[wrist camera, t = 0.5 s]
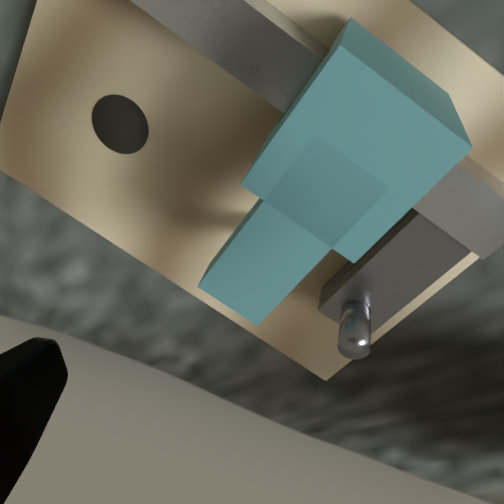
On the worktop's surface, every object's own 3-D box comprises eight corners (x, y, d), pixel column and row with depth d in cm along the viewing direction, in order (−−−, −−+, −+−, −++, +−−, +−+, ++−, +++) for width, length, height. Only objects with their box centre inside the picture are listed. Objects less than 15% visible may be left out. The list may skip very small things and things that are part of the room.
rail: (517, 194, 17) (532, 220, 16) (474, 231, 18) (483, 259, 17) (108, -121, 15) (74, -130, 13) (86, -57, 16) (53, -56, 14)
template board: (594, 149, 17) (603, 158, 16) (327, 369, 25) (325, 381, 24) (122, -234, 14) (109, -242, 13) (-1, 155, 22) (-13, 162, 22)
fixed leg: (468, 226, 18) (485, 283, 15) (364, 316, 22) (361, 377, 19) (419, 190, 18) (427, 241, 15) (321, 287, 21) (311, 345, 18)
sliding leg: (448, 93, 16) (473, 147, 11) (293, 262, 20) (272, 343, 16) (351, 16, 15) (340, 44, 11) (215, 209, 20) (172, 278, 16)
